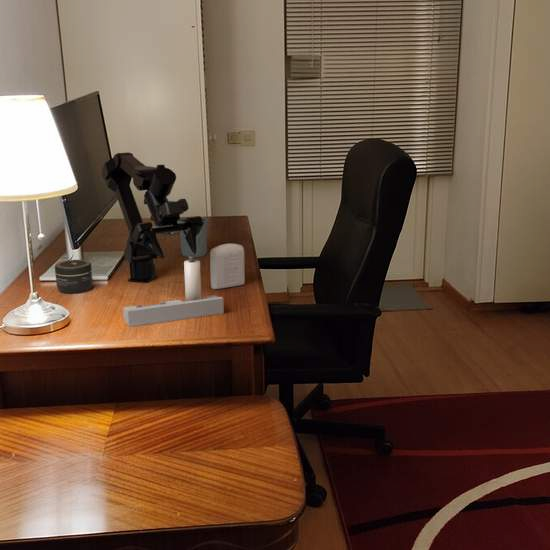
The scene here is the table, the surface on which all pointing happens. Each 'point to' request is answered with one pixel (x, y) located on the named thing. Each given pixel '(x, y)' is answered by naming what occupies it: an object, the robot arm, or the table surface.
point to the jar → (73, 276)
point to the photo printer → (227, 266)
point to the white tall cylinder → (192, 279)
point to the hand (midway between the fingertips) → (179, 255)
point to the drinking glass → (200, 240)
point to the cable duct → (173, 311)
